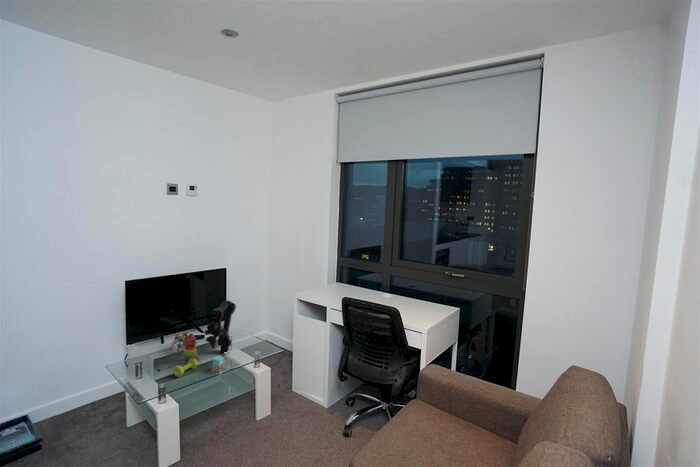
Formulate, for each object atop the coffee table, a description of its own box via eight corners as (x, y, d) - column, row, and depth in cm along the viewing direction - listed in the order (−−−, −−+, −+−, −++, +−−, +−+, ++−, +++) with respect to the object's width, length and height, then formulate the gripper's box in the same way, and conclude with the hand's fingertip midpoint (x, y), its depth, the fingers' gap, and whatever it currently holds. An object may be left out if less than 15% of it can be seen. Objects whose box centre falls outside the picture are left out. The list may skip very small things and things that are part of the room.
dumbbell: (191, 365, 258) (191, 356, 257) (199, 368, 255) (199, 358, 254) (171, 375, 243) (171, 366, 242) (180, 379, 240) (180, 369, 239)
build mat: (215, 366, 259) (215, 365, 259) (228, 368, 258) (228, 367, 258) (207, 373, 250) (207, 372, 250) (220, 375, 248) (220, 374, 248)
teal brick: (216, 361, 256) (216, 356, 255) (223, 362, 255) (223, 357, 254) (213, 365, 251) (213, 359, 250) (219, 366, 250) (219, 360, 250)
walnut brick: (216, 367, 257) (216, 361, 256) (224, 368, 256) (224, 362, 255) (211, 371, 251) (212, 365, 251) (219, 372, 250) (219, 366, 250)
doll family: (172, 355, 270) (172, 339, 269) (164, 351, 275) (164, 335, 273) (196, 345, 289) (196, 330, 287) (188, 342, 293) (189, 327, 292)
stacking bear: (192, 365, 258) (192, 342, 255) (179, 363, 260) (179, 340, 257) (201, 358, 268) (201, 336, 266) (189, 356, 270) (189, 334, 268)
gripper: (214, 320, 272) (213, 339, 275) (199, 329, 254) (199, 349, 256) (227, 322, 270) (226, 341, 273) (213, 331, 252) (213, 352, 254)
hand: (216, 345), depth 264 cm, fingers open, 9 cm apart
